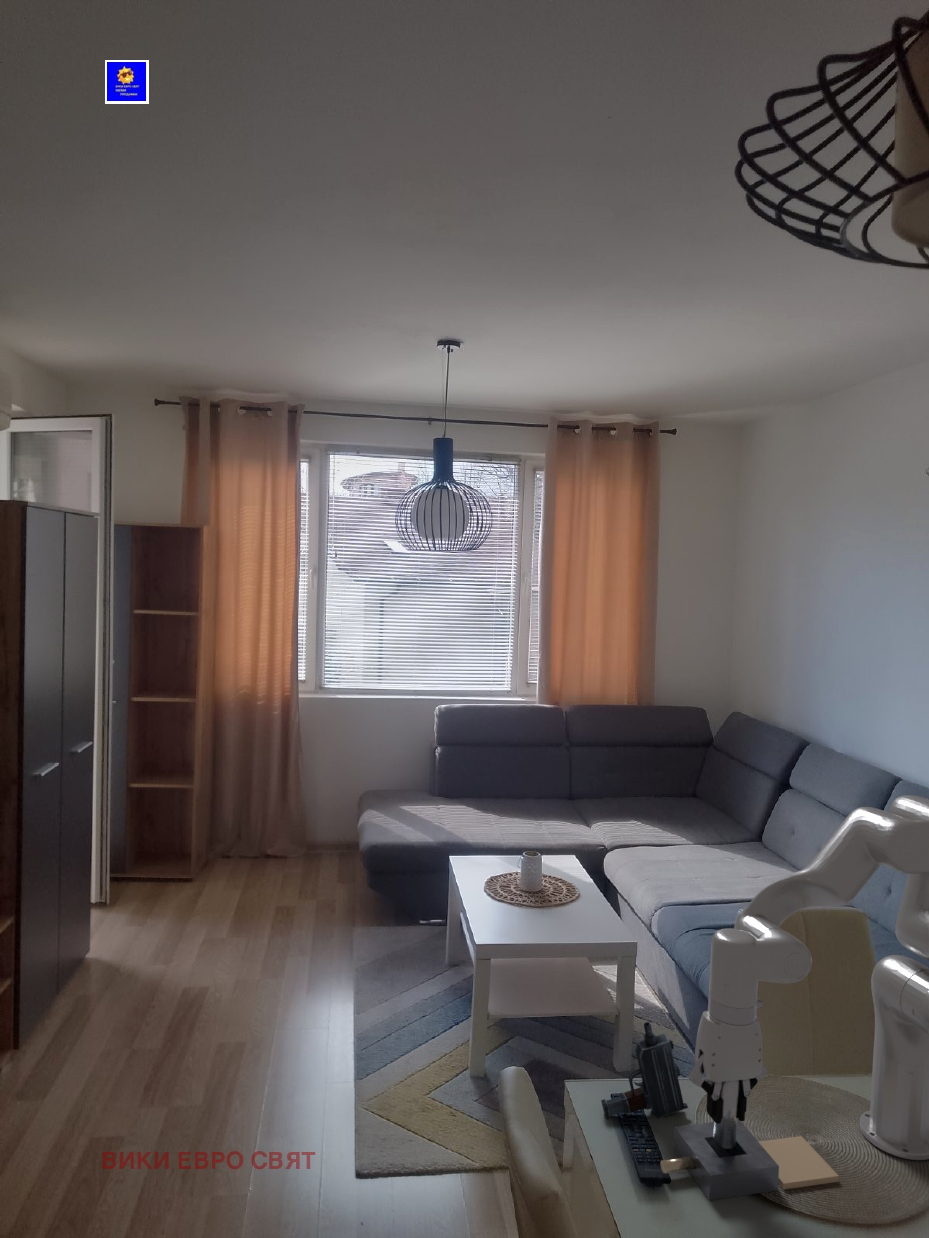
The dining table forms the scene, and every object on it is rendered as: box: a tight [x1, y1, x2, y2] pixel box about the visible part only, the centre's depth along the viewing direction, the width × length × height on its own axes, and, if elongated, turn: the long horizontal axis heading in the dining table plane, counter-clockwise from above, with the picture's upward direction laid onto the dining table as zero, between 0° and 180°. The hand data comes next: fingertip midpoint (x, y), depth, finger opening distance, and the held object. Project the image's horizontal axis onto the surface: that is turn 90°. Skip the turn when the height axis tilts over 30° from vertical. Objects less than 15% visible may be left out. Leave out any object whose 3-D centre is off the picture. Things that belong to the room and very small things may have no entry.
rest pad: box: [758, 1135, 840, 1190], centre depth 143 cm, size 10×10×1 cm
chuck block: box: [659, 1118, 779, 1201], centre depth 140 cm, size 17×12×4 cm
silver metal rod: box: [713, 1080, 739, 1149], centre depth 140 cm, size 4×4×13 cm
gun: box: [600, 1021, 689, 1119], centre depth 154 cm, size 3×17×15 cm
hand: (725, 1116), depth 140 cm, fingers closed on silver metal rod, 3 cm apart
